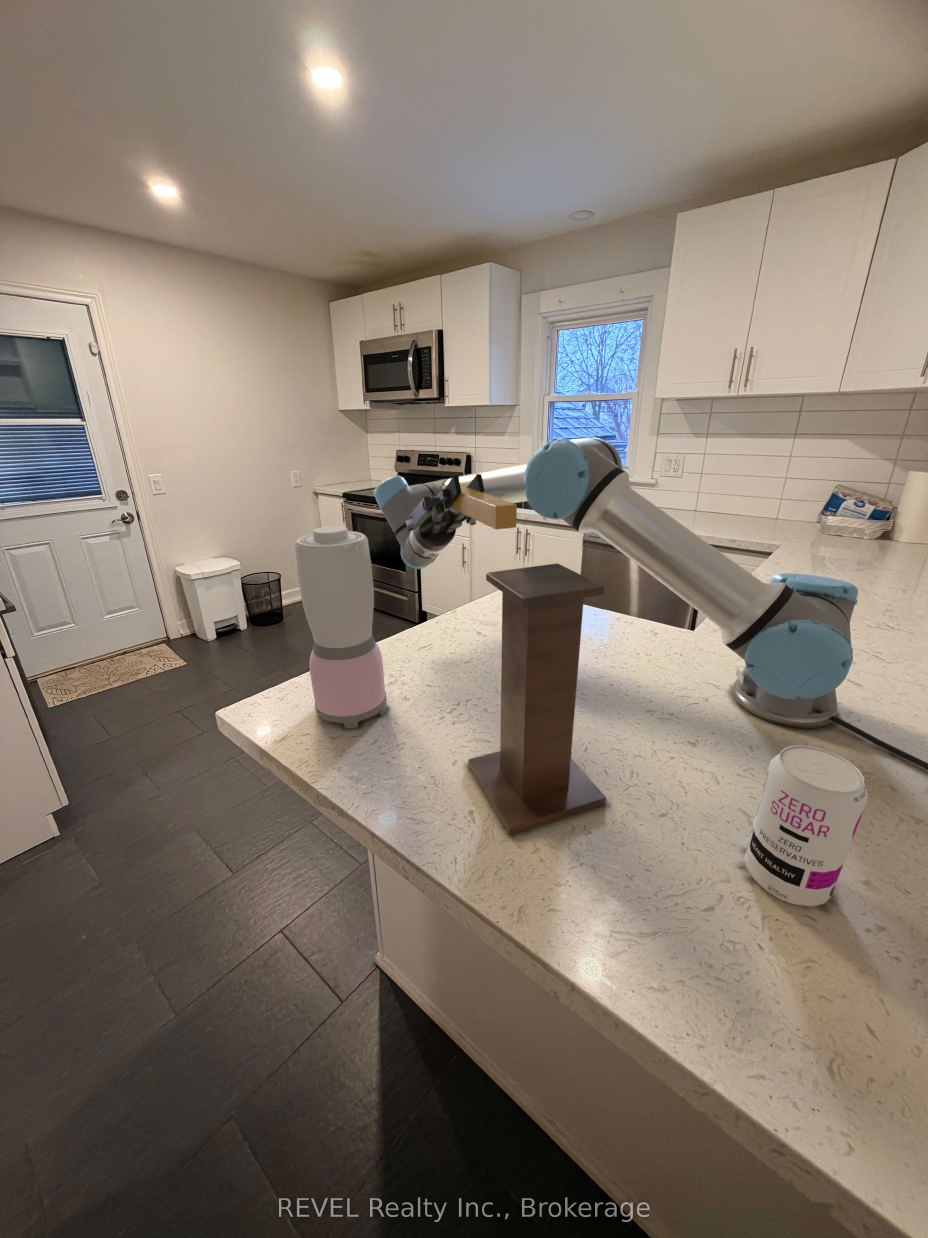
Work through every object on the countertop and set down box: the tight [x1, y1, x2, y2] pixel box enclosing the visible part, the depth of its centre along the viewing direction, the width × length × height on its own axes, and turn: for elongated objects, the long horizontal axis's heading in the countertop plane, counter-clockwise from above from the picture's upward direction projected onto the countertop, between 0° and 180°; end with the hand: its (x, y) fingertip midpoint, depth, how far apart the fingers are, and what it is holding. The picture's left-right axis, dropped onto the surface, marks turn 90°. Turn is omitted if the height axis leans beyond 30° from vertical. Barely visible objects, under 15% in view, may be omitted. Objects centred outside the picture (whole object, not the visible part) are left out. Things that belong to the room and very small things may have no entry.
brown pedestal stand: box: [467, 563, 607, 836], centre depth 63 cm, size 14×14×30 cm
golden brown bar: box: [442, 485, 518, 530], centre depth 73 cm, size 22×3×3 cm, turn 21°
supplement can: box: [743, 744, 869, 907], centre depth 52 cm, size 8×8×15 cm
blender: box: [294, 525, 387, 730], centre depth 82 cm, size 16×12×32 cm
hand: (469, 483), depth 74 cm, fingers closed on golden brown bar, 3 cm apart
